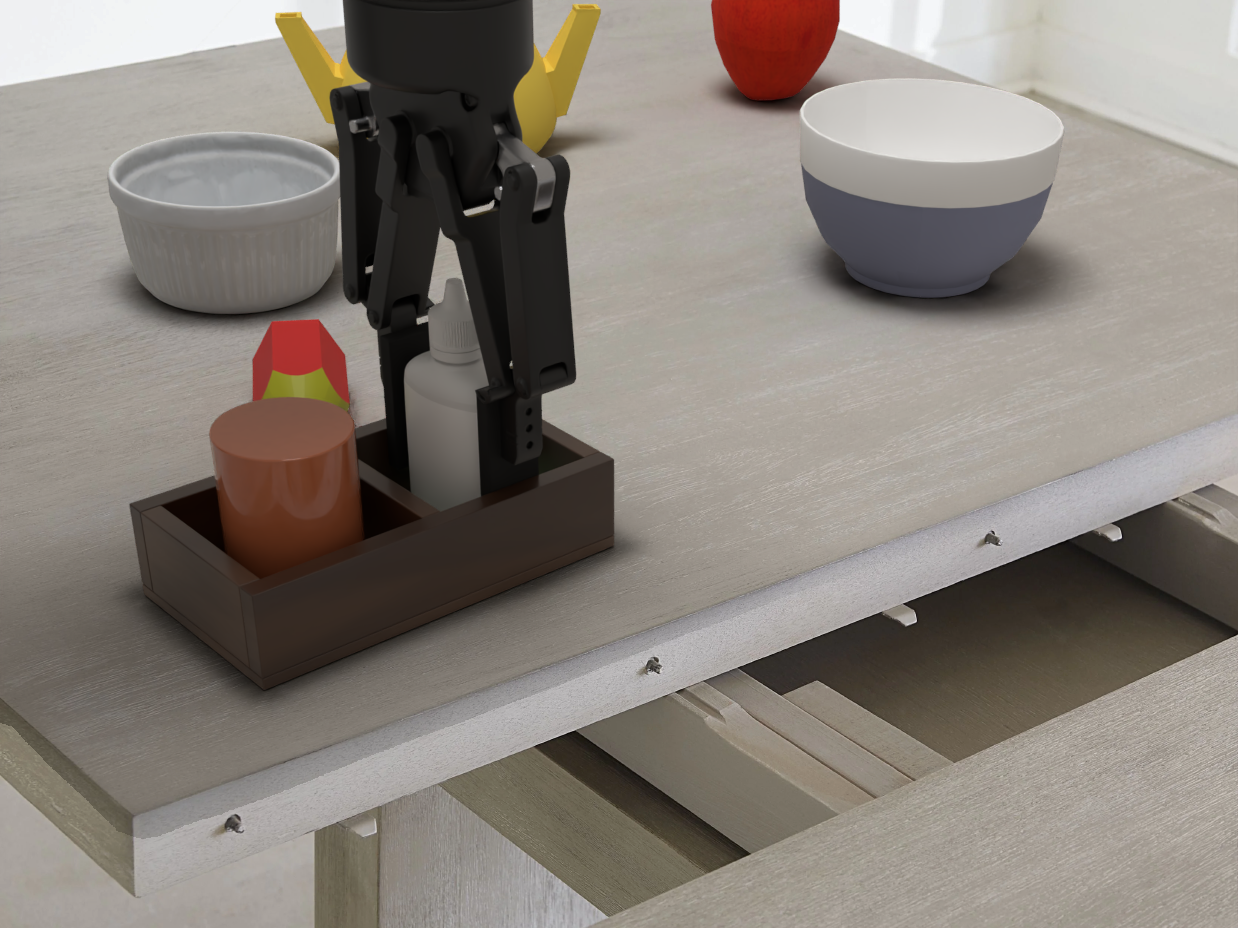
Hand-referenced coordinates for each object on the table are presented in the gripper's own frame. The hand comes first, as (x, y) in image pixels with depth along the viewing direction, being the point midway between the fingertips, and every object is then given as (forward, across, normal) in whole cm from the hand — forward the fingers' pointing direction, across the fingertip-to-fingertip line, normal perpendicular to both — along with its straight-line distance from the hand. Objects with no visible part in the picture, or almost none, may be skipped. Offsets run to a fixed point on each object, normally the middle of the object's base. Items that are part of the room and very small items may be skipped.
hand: (462, 486), depth 89 cm
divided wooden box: (+3, 0, +4) cm, 5 cm away
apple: (+3, +40, -59) cm, 72 cm away
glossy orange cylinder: (+2, 0, +9) cm, 9 cm away
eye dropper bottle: (+2, 0, 0) cm, 2 cm away
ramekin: (+3, +34, -8) cm, 35 cm away
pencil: (+3, +13, 0) cm, 13 cm away
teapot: (+3, +46, -32) cm, 56 cm away
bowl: (+3, +10, -42) cm, 43 cm away
